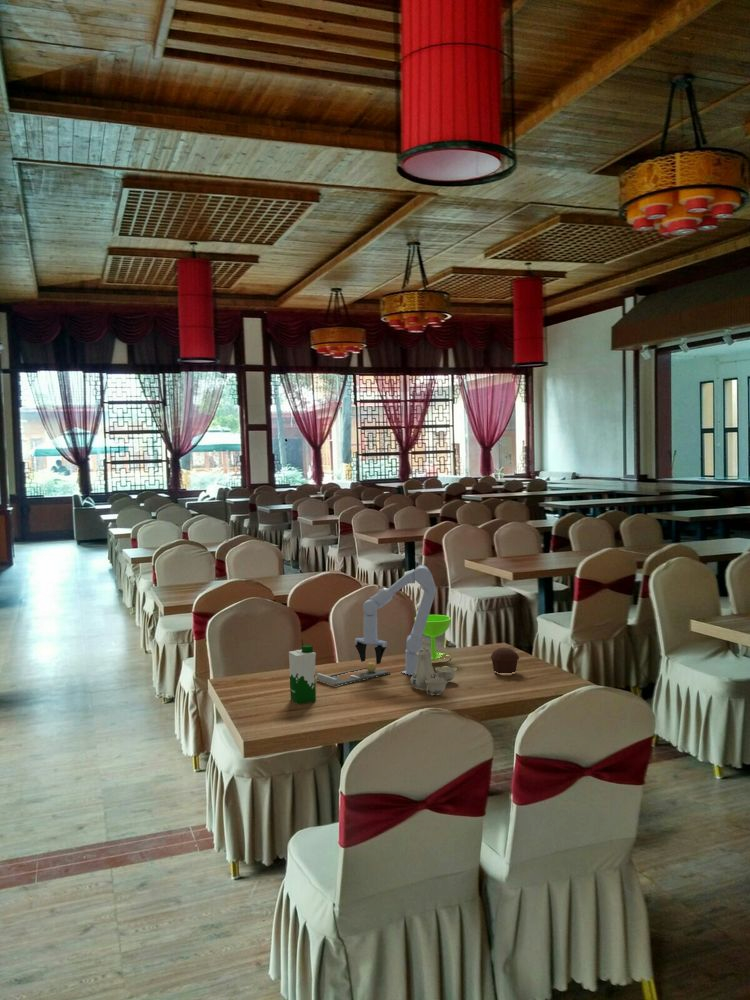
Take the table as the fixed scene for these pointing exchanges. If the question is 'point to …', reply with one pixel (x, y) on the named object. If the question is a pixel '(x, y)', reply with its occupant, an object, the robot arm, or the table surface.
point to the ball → (371, 667)
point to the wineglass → (436, 630)
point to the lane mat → (356, 677)
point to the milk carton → (302, 675)
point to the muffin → (504, 660)
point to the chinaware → (430, 674)
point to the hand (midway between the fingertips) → (370, 662)
